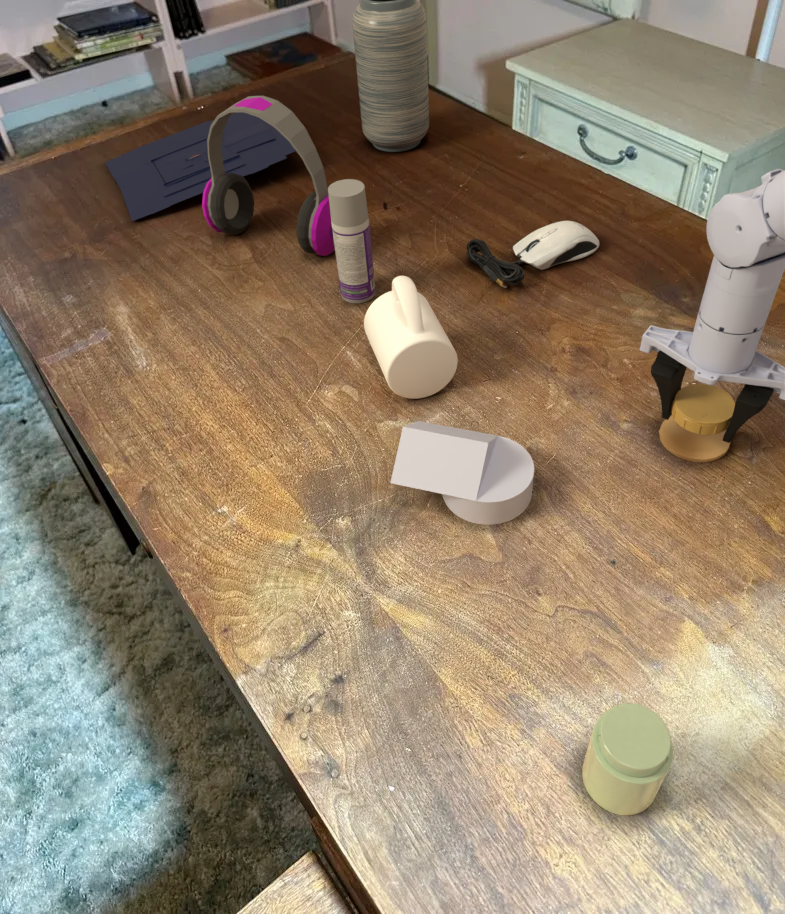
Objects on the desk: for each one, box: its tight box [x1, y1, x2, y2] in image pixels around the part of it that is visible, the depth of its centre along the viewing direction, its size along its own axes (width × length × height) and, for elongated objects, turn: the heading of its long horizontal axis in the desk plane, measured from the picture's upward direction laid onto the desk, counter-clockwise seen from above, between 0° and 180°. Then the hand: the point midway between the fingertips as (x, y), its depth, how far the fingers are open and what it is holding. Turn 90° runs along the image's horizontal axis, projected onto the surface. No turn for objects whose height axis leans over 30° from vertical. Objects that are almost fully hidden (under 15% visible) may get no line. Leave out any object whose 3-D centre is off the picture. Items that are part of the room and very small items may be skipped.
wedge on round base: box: [389, 420, 535, 526], centre depth 75 cm, size 9×7×13 cm
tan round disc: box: [658, 415, 731, 463], centre depth 80 cm, size 7×7×1 cm
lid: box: [671, 383, 736, 435], centre depth 77 cm, size 6×6×2 cm
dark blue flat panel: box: [104, 112, 297, 222], centre depth 130 cm, size 24×30×4 cm
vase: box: [351, 0, 430, 153], centre depth 126 cm, size 12×12×23 cm
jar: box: [581, 702, 674, 816], centre depth 54 cm, size 5×5×7 cm
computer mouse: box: [466, 220, 600, 289], centre depth 104 cm, size 10×18×4 cm, turn 117°
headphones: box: [201, 95, 335, 257], centre depth 106 cm, size 21×9×20 cm, turn 63°
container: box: [327, 178, 377, 304], centre depth 97 cm, size 5×5×15 cm
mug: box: [363, 275, 459, 400], centre depth 86 cm, size 8×10×12 cm
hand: (698, 424), depth 79 cm, fingers closed on lid, 6 cm apart
